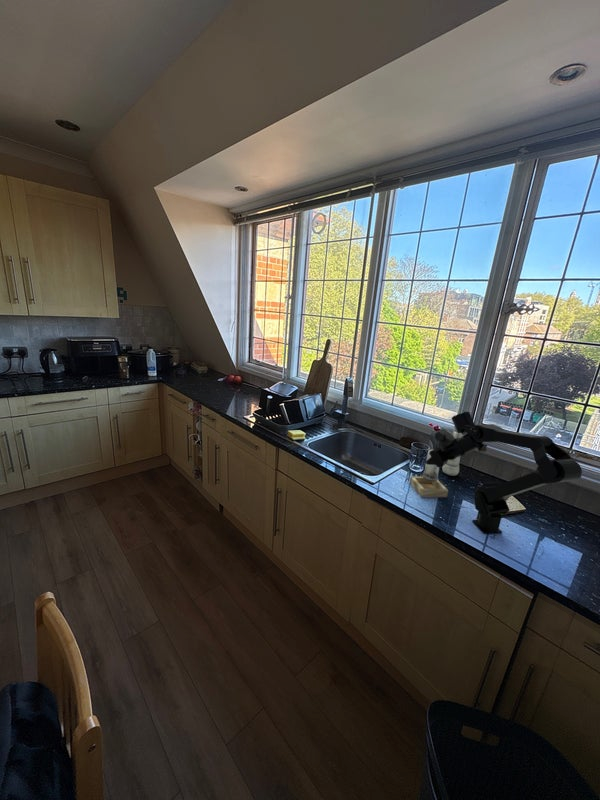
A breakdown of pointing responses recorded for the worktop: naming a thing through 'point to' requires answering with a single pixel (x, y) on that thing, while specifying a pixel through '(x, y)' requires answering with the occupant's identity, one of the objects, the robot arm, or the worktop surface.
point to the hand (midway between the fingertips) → (429, 461)
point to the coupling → (431, 471)
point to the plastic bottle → (453, 461)
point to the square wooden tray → (428, 487)
